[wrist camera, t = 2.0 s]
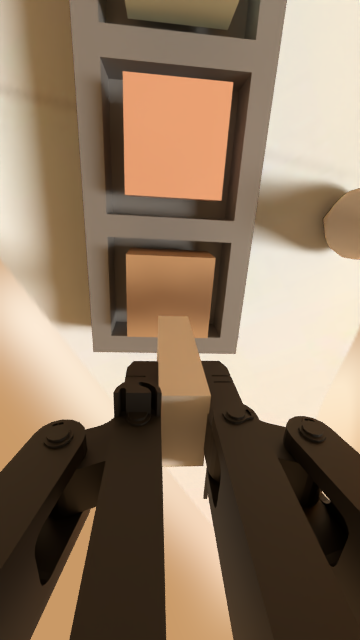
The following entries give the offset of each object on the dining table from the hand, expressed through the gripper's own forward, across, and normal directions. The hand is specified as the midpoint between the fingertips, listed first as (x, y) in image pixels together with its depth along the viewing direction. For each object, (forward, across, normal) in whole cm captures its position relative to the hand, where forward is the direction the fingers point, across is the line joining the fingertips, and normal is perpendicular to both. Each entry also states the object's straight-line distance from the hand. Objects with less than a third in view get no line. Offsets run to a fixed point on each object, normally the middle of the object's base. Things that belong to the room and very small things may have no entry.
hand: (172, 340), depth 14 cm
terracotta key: (+9, 0, +10) cm, 13 cm away
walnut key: (+9, 0, 0) cm, 9 cm away
